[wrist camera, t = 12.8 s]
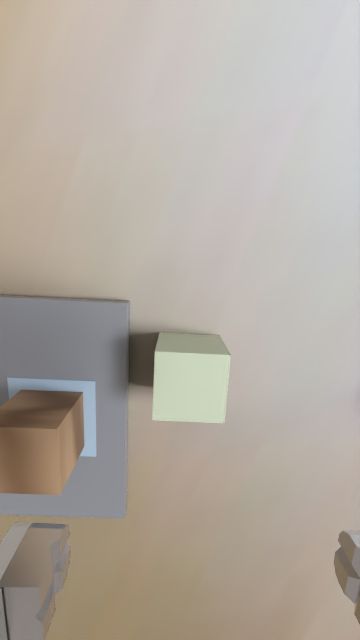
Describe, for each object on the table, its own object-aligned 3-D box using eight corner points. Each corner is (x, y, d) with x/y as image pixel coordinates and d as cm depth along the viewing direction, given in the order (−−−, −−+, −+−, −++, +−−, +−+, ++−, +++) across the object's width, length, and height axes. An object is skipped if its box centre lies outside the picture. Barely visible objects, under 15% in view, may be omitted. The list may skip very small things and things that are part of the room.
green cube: (219, 334, 23) (230, 355, 18) (214, 390, 24) (224, 423, 19) (159, 331, 23) (154, 351, 18) (157, 387, 24) (152, 420, 19)
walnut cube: (83, 392, 22) (56, 429, 17) (84, 445, 23) (59, 495, 18) (20, 389, 22) (-24, 426, 17) (25, 443, 23) (-16, 492, 18)
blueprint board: (129, 301, 22) (126, 303, 21) (126, 506, 26) (124, 519, 25) (-22, 293, 22) (-34, 295, 20) (0, 502, 26) (-9, 515, 25)
